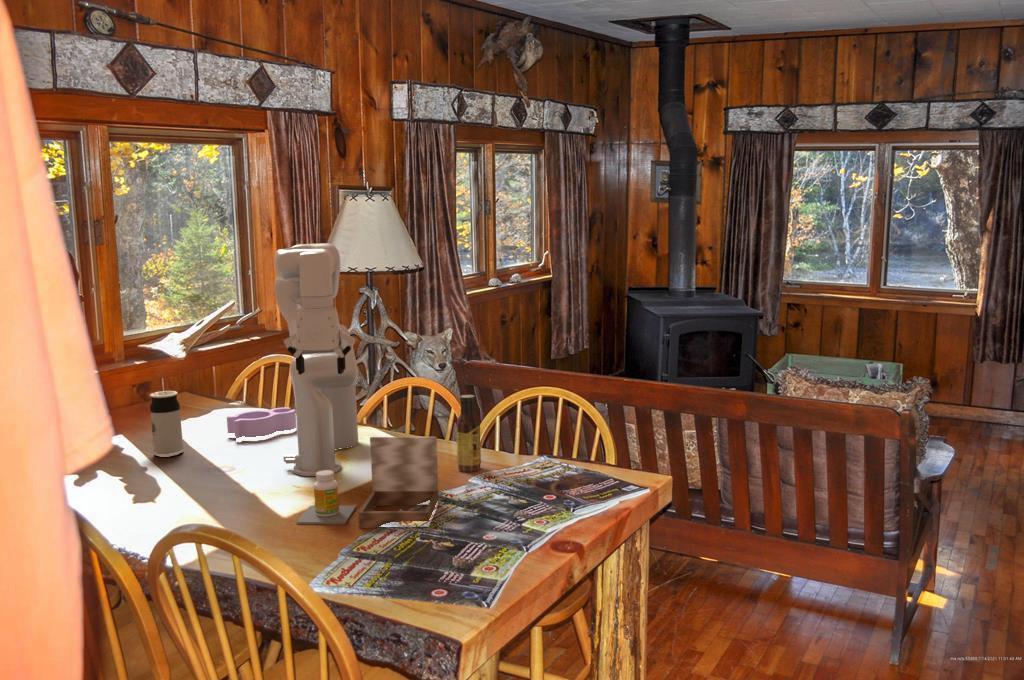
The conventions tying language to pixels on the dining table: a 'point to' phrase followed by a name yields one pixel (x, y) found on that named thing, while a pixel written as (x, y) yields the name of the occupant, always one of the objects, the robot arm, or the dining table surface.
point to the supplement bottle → (326, 494)
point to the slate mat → (339, 518)
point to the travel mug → (166, 422)
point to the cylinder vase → (343, 415)
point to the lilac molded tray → (261, 422)
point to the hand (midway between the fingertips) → (321, 373)
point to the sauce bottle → (468, 436)
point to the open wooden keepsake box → (401, 479)
